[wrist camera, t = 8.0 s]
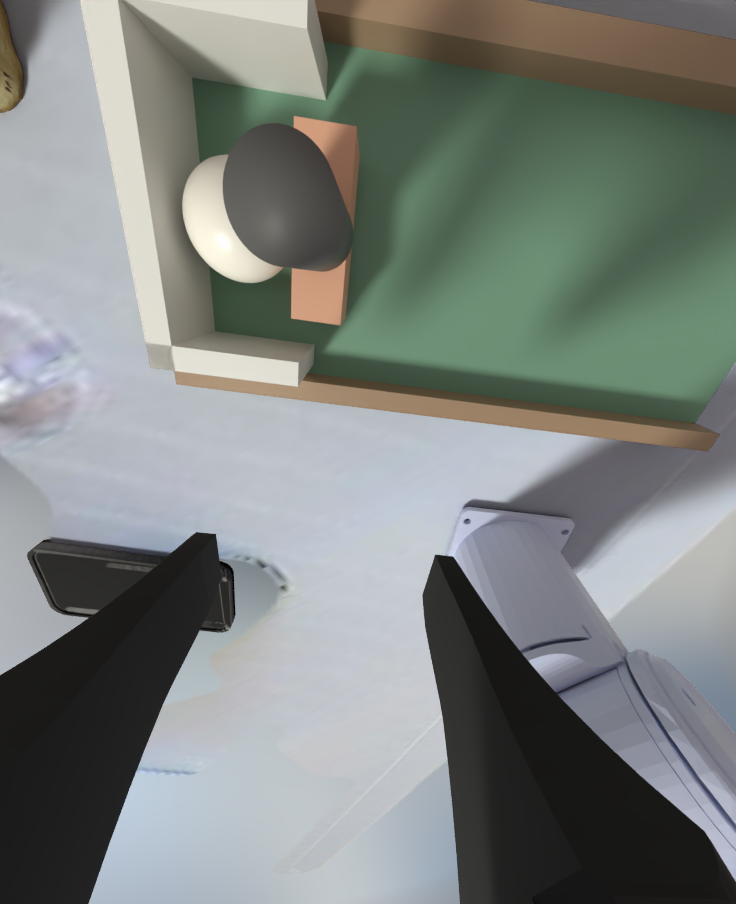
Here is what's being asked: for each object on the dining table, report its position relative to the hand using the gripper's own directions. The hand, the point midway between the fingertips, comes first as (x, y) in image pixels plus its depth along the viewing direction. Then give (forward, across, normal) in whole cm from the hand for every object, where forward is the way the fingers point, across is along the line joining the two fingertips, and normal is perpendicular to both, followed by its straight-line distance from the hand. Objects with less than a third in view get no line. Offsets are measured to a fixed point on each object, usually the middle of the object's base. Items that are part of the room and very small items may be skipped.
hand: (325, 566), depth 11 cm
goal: (+10, +4, -10) cm, 14 cm away
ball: (+8, +5, -10) cm, 13 cm away
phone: (+11, +16, +16) cm, 25 cm away
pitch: (+10, -6, -10) cm, 15 cm away
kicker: (+10, +2, -10) cm, 14 cm away
